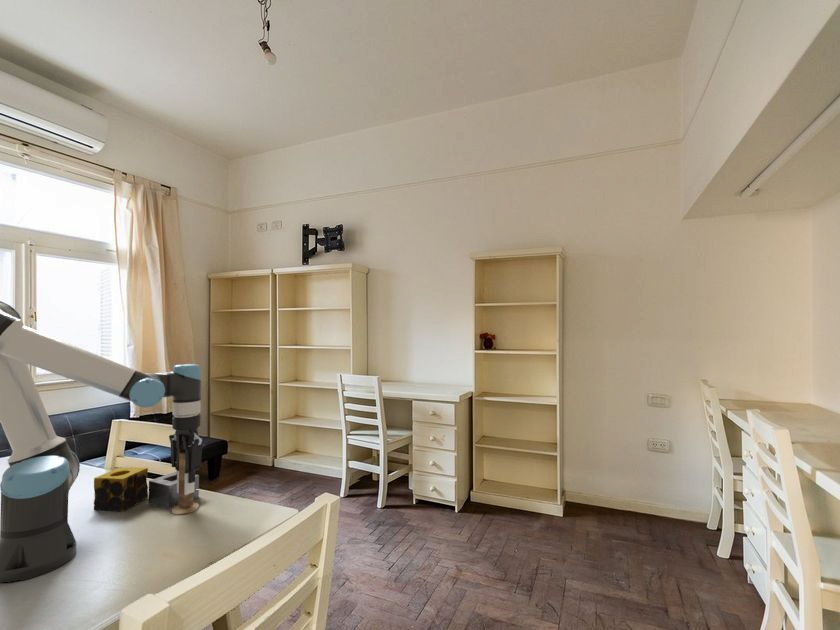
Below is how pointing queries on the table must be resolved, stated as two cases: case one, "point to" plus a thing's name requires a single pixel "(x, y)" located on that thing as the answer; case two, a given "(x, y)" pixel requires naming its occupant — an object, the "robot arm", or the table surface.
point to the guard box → (167, 491)
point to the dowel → (183, 483)
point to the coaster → (185, 509)
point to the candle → (120, 489)
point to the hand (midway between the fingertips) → (185, 492)
